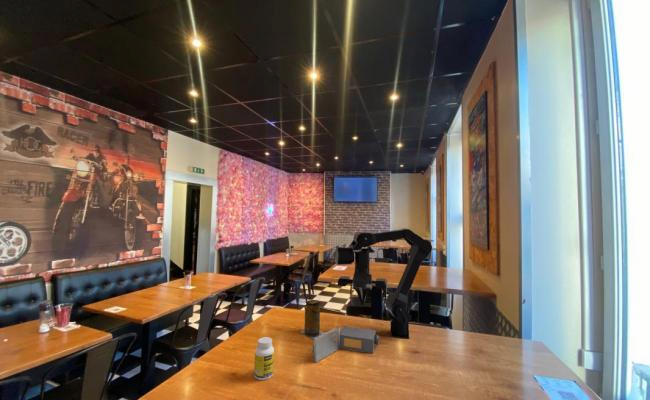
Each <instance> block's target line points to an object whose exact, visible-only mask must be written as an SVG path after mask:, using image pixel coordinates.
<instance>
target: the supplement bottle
mask: <svg viewBox="0 0 650 400" xmlns="http://www.w3.org/2000/svg"><path fill="white" fill-rule="evenodd" d="M274 357H275V348H274V346H273V339H272V338H271V337H267V336H264V337H260V338H259V339H258V340H257V347H256V348H255V350H254V364H253V365H254V366H253V367H254V369H253V376H254V378H255V379H256V380H259V381H265V380H269V379H271V377H272V376H273V375H274V364H275V363H274V362H275V360H274V359H275V358H274Z"/></svg>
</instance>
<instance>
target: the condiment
mask: <svg viewBox="0 0 650 400" xmlns="http://www.w3.org/2000/svg"><path fill="white" fill-rule="evenodd" d="M320 318H321V309H320V302H319V300H316V299H309V300H306V301H305V308H304V330H300V331H299V333H301V334H303V336H306V337H308V338H309V339H311V340H312V339H313V340H314V338H316V337H318V336H320V335H322V334H324V333H325V332H324V331H322V330H321V328H320V326H321V325H320V323H321V319H320Z"/></svg>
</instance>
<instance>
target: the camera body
mask: <svg viewBox="0 0 650 400" xmlns="http://www.w3.org/2000/svg"><path fill="white" fill-rule="evenodd" d="M336 328H337V329H338V350H337V351H339V350H340V349H344V350H350V351H355V352H362V353H367V354H368V353H369V354H374V351H375V347H376V346H378V345H379V340H380V337H379V334H376V333H377V331H376V329H367V328H362V327H355V326H346V325H345V326H344V325H343V326H342V329H341V327H339V326H337V327H336Z"/></svg>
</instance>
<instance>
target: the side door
mask: <svg viewBox="0 0 650 400" xmlns="http://www.w3.org/2000/svg"><path fill="white" fill-rule="evenodd" d="M311 351H312V353H313V362H314V363H318V362H319V361H321V360H322V359H324V358H326V357H327V356H330V355H331V354H333V353H335V352H336V351H339V350H338V329H337V327H334V328H331V329H330V330H329V331H326V332H324V334H322V335H320V336H318V337H316V338H313V345H312V350H311Z"/></svg>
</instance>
